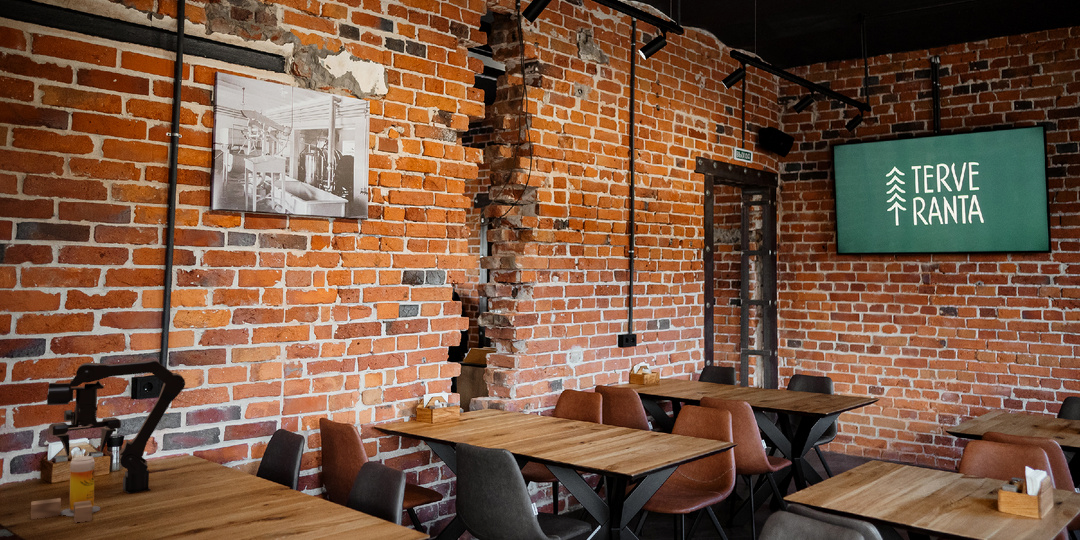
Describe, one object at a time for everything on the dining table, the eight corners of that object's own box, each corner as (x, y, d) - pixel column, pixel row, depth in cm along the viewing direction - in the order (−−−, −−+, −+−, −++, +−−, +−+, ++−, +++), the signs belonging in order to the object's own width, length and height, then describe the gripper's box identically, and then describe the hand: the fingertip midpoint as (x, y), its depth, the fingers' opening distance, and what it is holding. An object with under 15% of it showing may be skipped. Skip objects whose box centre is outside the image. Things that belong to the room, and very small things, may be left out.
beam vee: (64, 503, 228) (65, 490, 229) (122, 508, 225) (123, 494, 225) (22, 518, 214) (22, 504, 214) (83, 523, 210) (84, 509, 210)
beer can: (91, 511, 220) (92, 459, 221) (67, 513, 218) (68, 461, 218) (95, 505, 226) (96, 455, 226) (71, 507, 224) (72, 456, 224)
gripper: (111, 397, 250) (110, 445, 250) (45, 403, 237) (43, 453, 237) (122, 401, 242) (120, 451, 242) (54, 407, 229) (52, 460, 229)
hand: (84, 453), depth 238 cm, fingers open, 9 cm apart
